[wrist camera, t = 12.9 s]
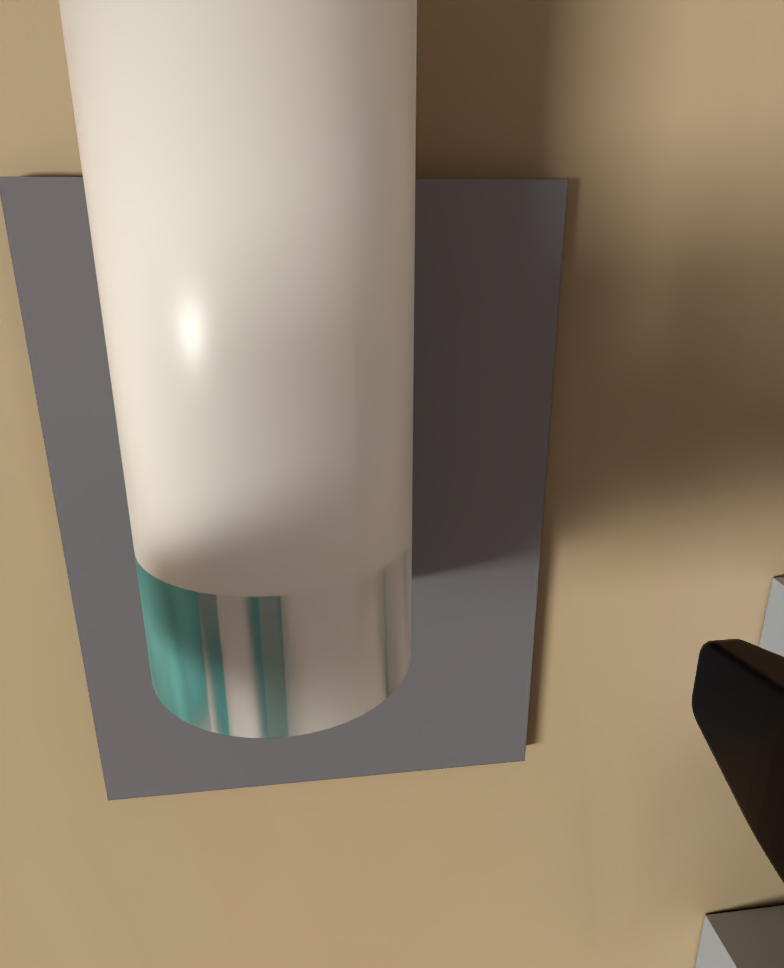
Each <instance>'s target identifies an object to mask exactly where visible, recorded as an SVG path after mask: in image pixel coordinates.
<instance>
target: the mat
mask: <svg viewBox="0 0 784 968" xmlns="http://www.w3.org/2000/svg"><path fill="white" fill-rule="evenodd" d="M567 186H568V179H415V267H414V373H413V478H412V584H411V660H410V665H409V669H408V671H407V673H406V675H405V677H404V679H403V681H402V682H401V683H400V685H399V686H398V688H397V689H396V690H395V691H394V692H393V693H392V694H391V695H390V696H389V697H388V698H387V699H385V700H384V701H383V702H382V703H380V704H379V705H378V706H376V707H375V708H373V709H372V710H370V711H368V712H366V713H365V714H363V715H361V716H359V717H357V718H355V719H353V720H350V721H348V722H346V723H343V724H341V725H338V726H335V727H332V728H329V729H326V730H321V731H317V732H313V733H309V734H304V735H297V736H291V737H279V738H245V737H236V736H228V735H223V734H219V733H214V732H210V731H207V730H204V729H201V728H198V727H196V726H194V725H191V724H189V723H187V722H185V721H183V720H181V719H180V718H179V717H177V716H176V715H174V714H173V713H171V712H170V711H169V710H168V709H167V708H166V707H165V706H164V705H163V704H162V703H161V701H160V700H159V698H158V696H157V695H156V693H155V690H154V687H153V684H152V677H151V670H150V662H149V655H148V648H147V640H146V633H145V626H144V619H143V611H142V604H141V597H140V589H139V582H138V575H137V568H136V560H135V553H134V546H133V538H132V531H131V524H130V517H129V509H128V502H127V495H126V487H125V480H124V473H123V466H122V458H121V451H120V444H119V436H118V429H117V422H116V415H115V407H114V400H113V393H112V385H111V378H110V371H109V363H108V356H107V349H106V342H105V334H104V327H103V320H102V312H101V305H100V298H99V291H98V283H97V276H96V269H95V261H94V254H93V247H92V240H91V232H90V225H89V218H88V210H87V203H86V196H85V189H84V181H83V177H0V196H1V202H2V207H3V213H4V218H5V224H6V230H7V235H8V241H9V247H10V252H11V258H12V263H13V269H14V275H15V280H16V286H17V292H18V297H19V303H20V308H21V314H22V320H23V325H24V331H25V337H26V342H27V348H28V353H29V359H30V365H31V370H32V376H33V381H34V387H35V393H36V398H37V404H38V410H39V415H40V421H41V426H42V432H43V438H44V443H45V449H46V455H47V460H48V466H49V471H50V477H51V483H52V488H53V494H54V500H55V505H56V511H57V516H58V522H59V528H60V533H61V539H62V545H63V550H64V556H65V561H66V567H67V573H68V578H69V584H70V590H71V595H72V601H73V606H74V612H75V618H76V623H77V629H78V634H79V640H80V646H81V651H82V657H83V663H84V668H85V674H86V679H87V685H88V691H89V696H90V702H91V708H92V713H93V719H94V724H95V730H96V736H97V741H98V747H99V753H100V758H101V764H102V769H103V775H104V781H105V786H106V792H107V798H108V800H118V799H128V798H139V797H149V796H160V795H170V794H181V793H191V792H202V791H212V790H223V789H233V788H244V787H254V786H265V785H275V784H286V783H296V782H307V781H317V780H328V779H338V778H349V777H359V776H370V775H380V774H391V773H401V772H412V771H422V770H433V769H443V768H454V767H464V766H475V765H485V764H496V763H506V762H517V761H525V751H526V737H527V724H528V711H529V697H530V684H531V670H532V657H533V643H534V630H535V616H536V603H537V589H538V576H539V563H540V549H541V536H542V522H543V509H544V495H545V482H546V468H547V455H548V441H549V428H550V415H551V401H552V388H553V374H554V361H555V347H556V334H557V320H558V307H559V293H560V280H561V267H562V253H563V240H564V226H565V213H566V199H567Z"/></svg>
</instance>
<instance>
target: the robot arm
mask: <svg viewBox="0 0 784 968" xmlns="http://www.w3.org/2000/svg"><path fill="white" fill-rule="evenodd" d="M692 708H693V713H694V716H695V719H696V721H697V724H698V725H699V727H700V729H701V731H702V733H703V735H704V737H705V739H706V741H707V743H708V745H709V747H710V749H711V751H712V753H713V755H714V757H715V759H716V761H717V763H718V765H719V767H720V769H721V771H722V773H723V775H724V777H725V779H726V781H727V783H728V785H729V787H730V789H731V791H732V793H733V795H734V797H735V799H736V801H737V803H738V805H739V807H740V809H741V811H742V813H743V815H744V817H745V819H746V821H747V823H748V824H749V826H750V828H751V830H752V832H753V834H754V835H755V837H756V839H757V840H758V842H759V844H760V846H761V847H762V849H763V851H764V852H765V854H766V856H767V857H768V859H769V860H770V862H771V864H772V865H773V867H774V868H775V870H776V872H777V873H778V875H779V876H780V878H781V880H782V881H783V883H784V657H783V656H781V655H778V654H776V653H773V652H771V651H768V650H766V649H763V648H761V647H758V646H756V645H753V644H751V643H748V642H746V641H743V640H740V639H727V640H715V641H708V642H707V643H705V644H704V645H703V646H702V648H701V650H700V654H699V659H698V665H697V671H696V677H695V683H694V688H693V694H692Z"/></svg>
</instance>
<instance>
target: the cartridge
mask: <svg viewBox="0 0 784 968" xmlns="http://www.w3.org/2000/svg"><path fill="white" fill-rule="evenodd" d="M59 6H60V14H61V21H62V28H63V35H64V43H65V50H66V57H67V65H68V72H69V79H70V86H71V94H72V101H73V108H74V116H75V123H76V130H77V137H78V145H79V152H80V159H81V167H82V174H83V181H84V189H85V196H86V203H87V210H88V218H89V225H90V232H91V240H92V247H93V254H94V261H95V269H96V276H97V283H98V291H99V298H100V305H101V312H102V320H103V327H104V334H105V342H106V349H107V356H108V363H109V371H110V378H111V385H112V393H113V400H114V407H115V415H116V422H117V429H118V436H119V444H120V451H121V458H122V466H123V473H124V480H125V487H126V495H127V502H128V509H129V517H130V524H131V531H132V538H133V546H134V553H135V560H136V568H137V575H138V582H139V589H140V597H141V604H142V611H143V619H144V626H145V633H146V640H147V648H148V655H149V662H150V670H151V677H152V684H153V687H154V690H155V693H156V695H157V696H158V698H159V700H160V701H161V703H162V704H163V705H164V706H165V707H166V708H167V709H168V710H169V711H170V712H171V713H173V714H174V715H176V716H177V717H179V718H180V719H181V720H183V721H185V722H187V723H189V724H191V725H194V726H196V727H198V728H201V729H204V730H207V731H210V732H214V733H219V734H223V735H228V736H236V737H245V738H279V737H291V736H297V735H304V734H309V733H313V732H317V731H321V730H326V729H329V728H332V727H335V726H338V725H341V724H343V723H346V722H348V721H350V720H353V719H355V718H357V717H359V716H361V715H363V714H365V713H366V712H368V711H370V710H372V709H373V708H375V707H376V706H378V705H379V704H380V703H382V702H383V701H384V700H385V699H387V698H388V697H389V696H390V695H391V694H392V693H393V692H394V691H395V690H396V689H397V688H398V686H399V685H400V683H401V682H402V681H403V679H404V677H405V675H406V673H407V671H408V669H409V665H410V660H411V584H412V478H413V373H414V267H415V162H416V56H417V0H59Z"/></svg>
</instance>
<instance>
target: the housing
mask: <svg viewBox="0 0 784 968" xmlns="http://www.w3.org/2000/svg"><path fill="white" fill-rule="evenodd" d="M759 647H761V648H763V649H766V650H768V651H771V652H773V653H776V654H778V655H781V656H783V657H784V577H777V578H773V580H772V585H771V590H770V595H769V600H768V605H767V610H766V615H765V620H764V625H763V630H762V635H761V640H760V645H759ZM695 968H784V905H782V906H774V907H766V908H758V909H750V910H742V911H734V912H726V913H718V914H710V915H705V920H704V925H703V930H702V935H701V940H700V945H699V950H698V955H697V960H696V965H695Z"/></svg>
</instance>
